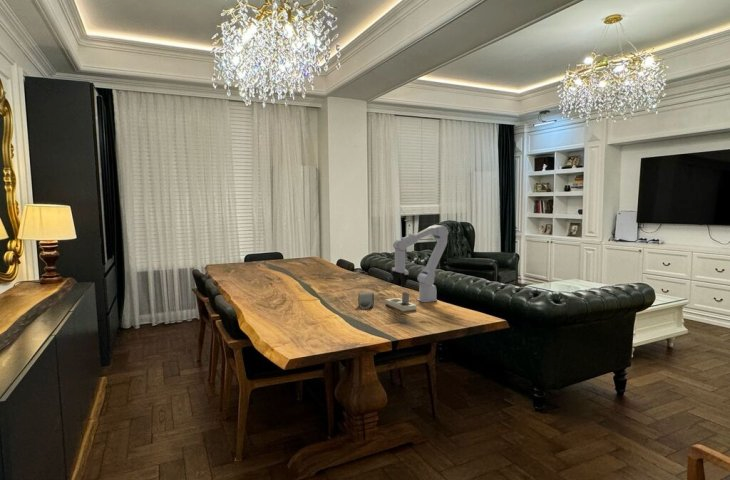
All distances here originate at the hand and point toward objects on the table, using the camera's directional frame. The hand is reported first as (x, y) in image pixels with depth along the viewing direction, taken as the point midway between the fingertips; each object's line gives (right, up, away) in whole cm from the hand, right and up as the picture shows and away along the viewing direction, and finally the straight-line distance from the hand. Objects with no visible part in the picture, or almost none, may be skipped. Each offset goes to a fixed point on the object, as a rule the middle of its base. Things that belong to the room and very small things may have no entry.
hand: (399, 285), depth 235 cm
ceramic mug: (-19, -11, -7) cm, 23 cm away
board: (0, -11, -9) cm, 14 cm away
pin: (+2, -10, -13) cm, 17 cm away
